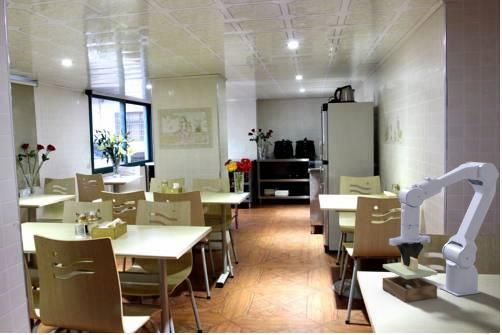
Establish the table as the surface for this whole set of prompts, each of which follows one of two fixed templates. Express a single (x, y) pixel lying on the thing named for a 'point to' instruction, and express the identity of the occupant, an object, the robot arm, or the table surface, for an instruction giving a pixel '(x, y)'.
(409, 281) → the wooden open box
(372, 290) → the table surface
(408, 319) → the table surface
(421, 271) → the lid
